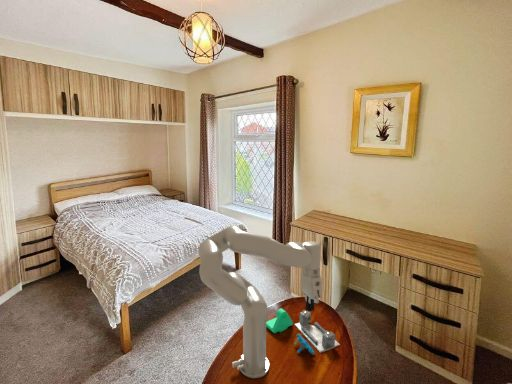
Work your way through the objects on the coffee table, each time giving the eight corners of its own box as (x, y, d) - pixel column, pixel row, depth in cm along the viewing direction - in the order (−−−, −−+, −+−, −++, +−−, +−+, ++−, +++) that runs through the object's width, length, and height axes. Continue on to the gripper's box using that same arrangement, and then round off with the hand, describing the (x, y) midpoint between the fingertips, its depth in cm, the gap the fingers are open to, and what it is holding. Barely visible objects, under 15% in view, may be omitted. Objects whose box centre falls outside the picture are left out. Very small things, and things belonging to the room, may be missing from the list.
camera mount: (283, 319, 142) (283, 301, 140) (292, 326, 135) (293, 307, 134) (265, 327, 135) (265, 308, 134) (274, 335, 129) (274, 315, 127)
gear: (319, 355, 114) (305, 343, 111) (310, 366, 113) (295, 354, 110) (307, 339, 124) (294, 327, 121) (298, 348, 124) (285, 337, 121)
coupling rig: (320, 352, 117) (320, 338, 116) (294, 325, 136) (294, 312, 135) (339, 345, 121) (340, 331, 120) (312, 320, 140) (312, 307, 139)
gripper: (329, 276, 109) (327, 317, 111) (308, 262, 122) (307, 299, 125) (314, 279, 106) (312, 321, 108) (294, 265, 119) (293, 303, 122)
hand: (309, 309), depth 116 cm, fingers closed
